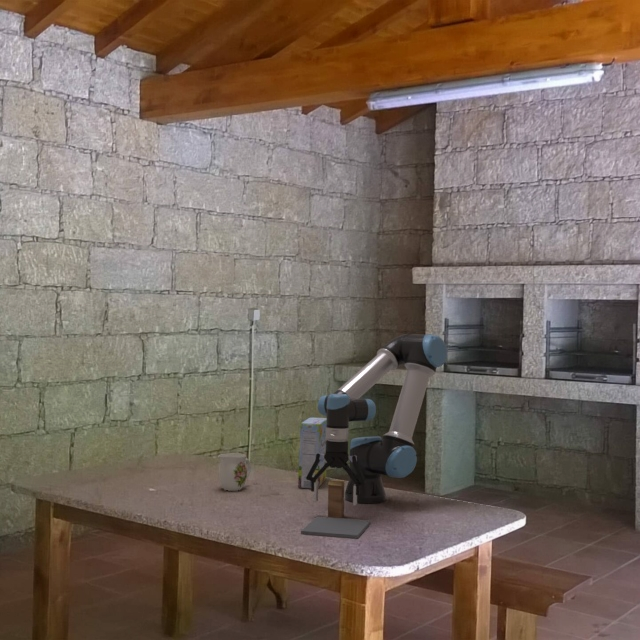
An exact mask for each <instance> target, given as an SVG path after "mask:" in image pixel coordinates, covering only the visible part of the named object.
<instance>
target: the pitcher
mask: <svg viewBox="0 0 640 640" xmlns="http://www.w3.org/2000/svg"><path fill="white" fill-rule="evenodd" d="M217 458H218V459H220V462H219V466H218V479H219V483H220V486H221V487H222V489H223V490H224V491H226V490H228V492H237V491H238V490H239V491H241V490H242V489H243V487H244V486H245V483H246V481H247V479H248V477H249V476H250V474H251V469H252V465H251V462H250V459H249V458H247V455H246V454H244V453H240V452H239V453H237V452H234V453H233V452H232V453H231V452H229V453H221V454H219V455H217ZM239 491H238V492H239Z"/></svg>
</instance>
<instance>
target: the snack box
mask: <svg viewBox="0 0 640 640" xmlns="http://www.w3.org/2000/svg"><path fill="white" fill-rule="evenodd" d="M326 427H327V417H309V418H307V419H305V420H303V421H302V422H300V429H299V430H300V431H299V453H298V454H299V457H298V459H299V460H298V478H297V479H298V480H297V487H298V488H299V489H310V490H311V481H309V480H307V479H306V477H307V475H308V473H309V471H310V469H311V467H312V466H313V464H314V462H315V460H316V454H318V453H321V454H325V453H326V441H327V440H328V439H327V438H326ZM326 463H327V462H326V460H325V459H324V458H323V459H322V460H320V462H319V464H318V466H317V468H316V470H315V472H314V473H313V475H312V477H314V476H315V475H316V474H317V473H318V472H319V471H320V469H321V468H322V467H323V466H324V465H325V464H326ZM326 479H327V469H326V470H325V471H324V472H323V473H322V474H321V476H320V477H319V478H318V479H317V480H316V481H318V488H319V487H320V486H321V485H322V484H323V483H324V482H325V480H326Z"/></svg>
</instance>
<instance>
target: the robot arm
mask: <svg viewBox="0 0 640 640" xmlns="http://www.w3.org/2000/svg"><path fill="white" fill-rule="evenodd" d="M447 349H448V348H447V346H446V343H445V341H444V340H443V339H442V337H440V336H439V335H434V334H429V333H427V334H425V333H423V334H422V333H421V334H420V333H416V334H415V333H405V334H401V335H398V336H396V337H394V338H392V339H391V340H389V341H388V342H386V344H384V345H383V346H382V347H380V349H378V350H377V352H376V355H375V356H374V357H373V358H371V360H369V361H368V363H366V364H365V365H364V366H363V367H361V369H359V371H357V372H356V373H355V374H354V375H352V377H351V378H349V379H348V380H346V382H345V383H343V384H342V385H341V386H340V387H339V388H338V389H336V391H334V392H333V393H332V394H327V395H322V396H320V398H319V399H318V402H317V409H318V412H319V414H321V416H325V417H326V418H327V427H326V438H327V441H326V453H325V454H321V453H318V454H316V460H315V462H314V464H313V466H312V467H311V469H310V471H309V473H308V475H307V477H306V479H307V480H309V481H311V489H310V491H311V492H313V503H317V502H318V501H319V487H318V481H316V480H317V479H318V478H319V477H320V476H321V474H322V473H323V472H324V471H325V470H326V471H327V469H328V468H329V467H330V468H333V469H334V468H336V469H343V470H344V471H345V473H346V474H347V475H348V476H349V480H348V482H347V484H346V485H347V486H346V488H345V490H344V500H346V501H347V502H352V505H353V506H356V505H358V503H360V504H375V503H377V504H378V503H382V502H385V501H386V498H387V497H386V495H387V494H386V490H385V487H384V484H383V480H382V475H383V476H388V477H390V478H400V479H401V478H402V479H403V478H406V477H407V476H409V475H410V474H411V473H412V472H414V469H415V467H416V465H417V461H418V456H416V455H417V451H416V450H415V448H414V447H415V442H414V441H413V435H414V432H415V429H416V425H417V422H418V418H419V415H420V411H421V408H422V404H423V401H424V398H425V394H426V391H427V388H428V385H429V380H430V378H431V377H433V376H434V375H435V374H436V372H437V368H441V367H442V366H444V364H445V363H446V362H447V357H448V350H447ZM400 366H404V367H405V368H406V372H405V373H406V374H405V377H404V380H403V383H402V387H401V390H400V394H399V396H398V401H397V404H396V407H395V410H394V414H393V416H392V420H391V424H390V427H389V431H388V432H386V433H385V434H383V436H378V435H376V436H361V437H355V438H352V439H351V441H350V448H349V441H348V439H349V430H350V429H349V428H350V427H349V424H350V422H366V421H370V420H373V419H374V417H375V416H376V414H377V413H376V411H377V407H376V406H377V405H376V404H375V402H374V401H373V400H372V399H369V398H361V397H362V396H364V395H365V394H366V393H367V392H368V391H369V390H370V389H371V388H372V387H373V386H375V384H377V383H378V382H379V381H380V380H381V379H383V377H385V376H386V375H387V374H388V373H389V372H390V371H395V370H396V369H397V368H399V367H400ZM323 458H324V459H325V460H326V464H325V465H324V466H323V467H322V468H321V469H320V471H319V472H318V473H317V474H316V475H315V476H314V477H312V475H313V473H314V472H315V470H316V468H317V466H318V464H319V462H320V460H322V459H323ZM348 461H349V464H348Z"/></svg>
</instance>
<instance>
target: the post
mask: <svg viewBox="0 0 640 640" xmlns="http://www.w3.org/2000/svg"><path fill="white" fill-rule="evenodd" d="M327 484H328V486H327V489H328V492H327V493H328V494H327V517H331V518H343V517H344V516H345V480H344V479H331V480H329V481H328V483H327Z"/></svg>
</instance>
